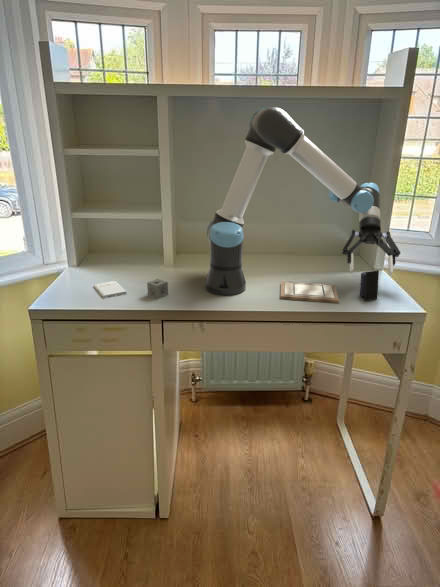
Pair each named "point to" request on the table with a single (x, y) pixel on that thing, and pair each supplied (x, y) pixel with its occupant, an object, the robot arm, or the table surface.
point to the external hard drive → (110, 289)
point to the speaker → (369, 285)
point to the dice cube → (157, 288)
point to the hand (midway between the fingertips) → (371, 272)
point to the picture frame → (309, 292)
